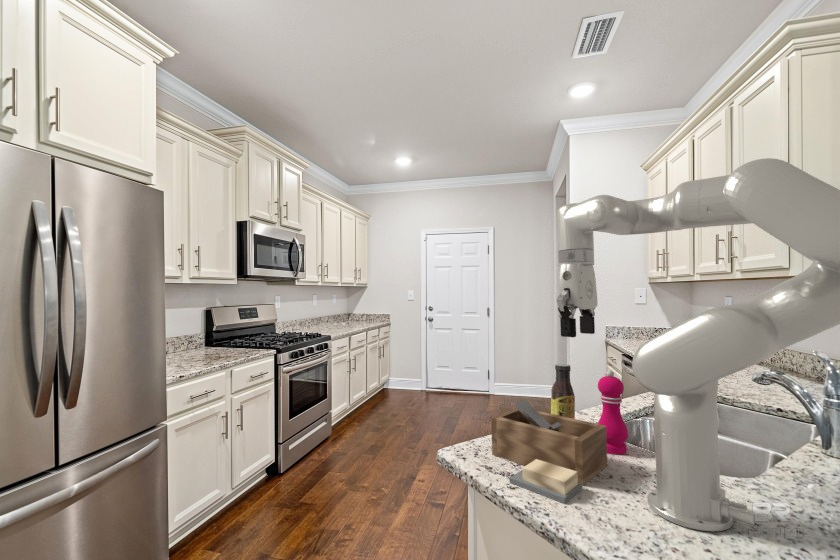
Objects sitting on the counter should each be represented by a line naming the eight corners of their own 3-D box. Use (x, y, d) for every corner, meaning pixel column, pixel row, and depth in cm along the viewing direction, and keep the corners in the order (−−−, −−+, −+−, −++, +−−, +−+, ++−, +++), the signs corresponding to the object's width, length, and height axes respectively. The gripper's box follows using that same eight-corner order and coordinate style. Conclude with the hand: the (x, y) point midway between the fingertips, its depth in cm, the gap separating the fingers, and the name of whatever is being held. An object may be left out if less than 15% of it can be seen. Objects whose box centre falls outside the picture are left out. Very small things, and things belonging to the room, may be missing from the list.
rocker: (582, 459, 90) (591, 447, 88) (570, 467, 85) (580, 455, 84) (523, 403, 101) (531, 391, 99) (511, 407, 97) (518, 396, 95)
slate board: (582, 488, 78) (582, 483, 78) (564, 503, 73) (564, 498, 73) (529, 470, 87) (529, 465, 87) (509, 482, 81) (509, 477, 82)
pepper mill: (633, 456, 94) (630, 373, 95) (601, 454, 95) (598, 372, 96) (623, 445, 101) (620, 368, 102) (594, 443, 102) (591, 367, 103)
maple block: (577, 484, 78) (577, 471, 78) (565, 495, 74) (564, 481, 74) (536, 470, 85) (536, 459, 85) (522, 480, 80) (522, 467, 80)
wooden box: (607, 465, 89) (606, 425, 89) (583, 485, 80) (581, 441, 80) (520, 440, 105) (519, 406, 106) (492, 454, 96) (491, 417, 96)
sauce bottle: (560, 442, 103) (558, 367, 104) (546, 434, 109) (544, 363, 110) (580, 439, 105) (578, 365, 106) (566, 432, 111) (564, 362, 112)
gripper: (575, 255, 79) (578, 339, 78) (607, 260, 91) (610, 333, 90) (541, 258, 84) (543, 337, 83) (576, 262, 96) (578, 331, 96)
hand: (578, 335), depth 87 cm, fingers open, 9 cm apart
